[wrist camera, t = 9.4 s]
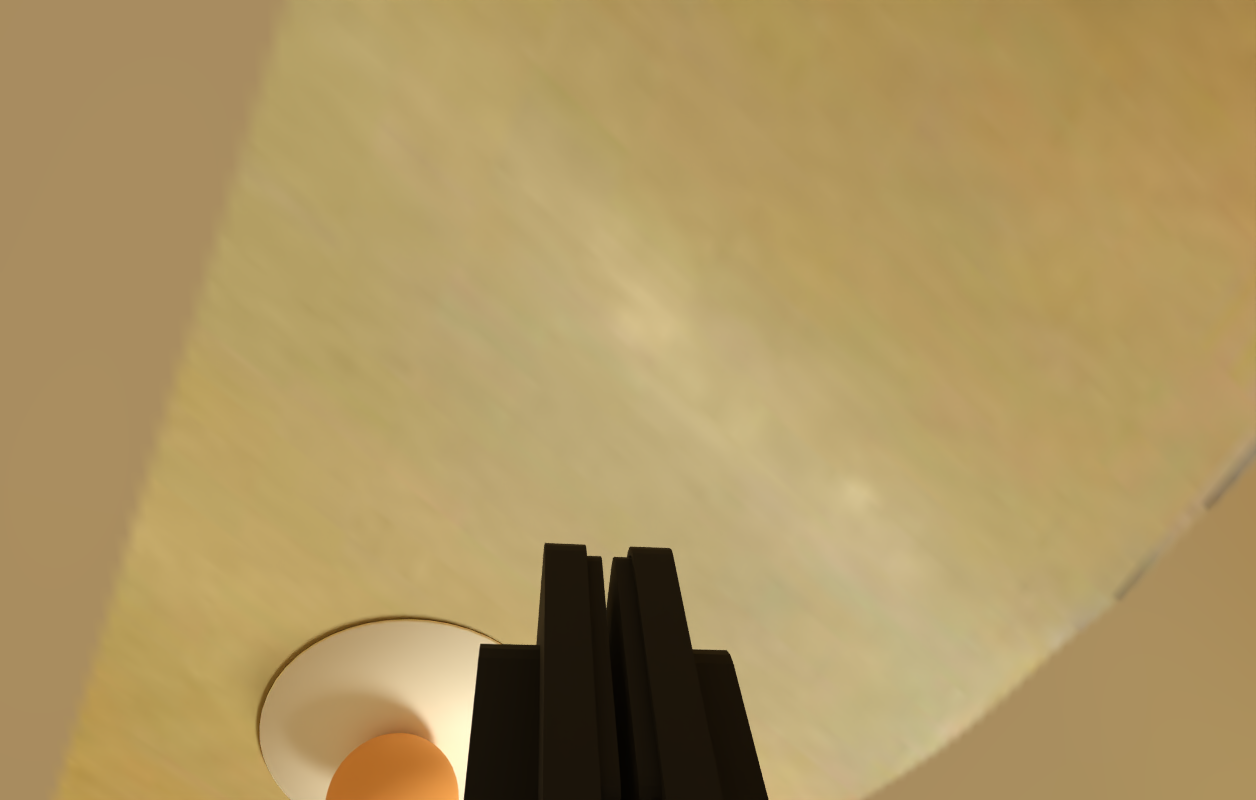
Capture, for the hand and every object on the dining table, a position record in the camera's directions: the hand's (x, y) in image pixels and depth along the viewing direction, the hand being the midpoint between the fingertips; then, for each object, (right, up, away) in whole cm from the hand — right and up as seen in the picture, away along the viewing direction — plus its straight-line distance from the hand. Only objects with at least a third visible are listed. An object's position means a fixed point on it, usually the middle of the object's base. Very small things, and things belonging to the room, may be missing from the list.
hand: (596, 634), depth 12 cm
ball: (-10, -14, +26) cm, 31 cm away
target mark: (-9, -12, +28) cm, 32 cm away
